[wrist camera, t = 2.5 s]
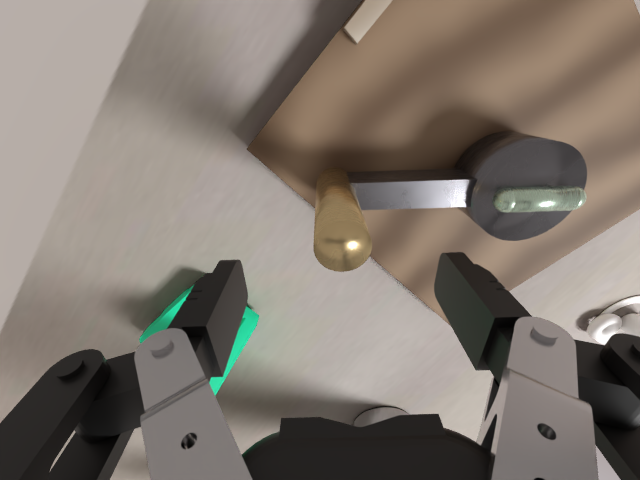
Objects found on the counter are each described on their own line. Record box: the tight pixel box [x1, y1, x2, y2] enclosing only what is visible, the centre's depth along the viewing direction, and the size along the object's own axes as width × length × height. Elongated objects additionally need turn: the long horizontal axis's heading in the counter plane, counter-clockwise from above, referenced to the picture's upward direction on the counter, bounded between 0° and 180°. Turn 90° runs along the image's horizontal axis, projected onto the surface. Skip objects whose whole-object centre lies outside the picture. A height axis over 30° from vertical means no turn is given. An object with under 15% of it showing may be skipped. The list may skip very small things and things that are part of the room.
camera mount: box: [139, 284, 259, 395], centre depth 29 cm, size 12×8×10 cm, turn 132°
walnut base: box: [247, 0, 640, 326], centre depth 23 cm, size 28×24×3 cm
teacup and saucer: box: [587, 295, 640, 344], centre depth 31 cm, size 9×8×4 cm
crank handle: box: [314, 131, 587, 272], centre depth 18 cm, size 18×7×11 cm, turn 92°
